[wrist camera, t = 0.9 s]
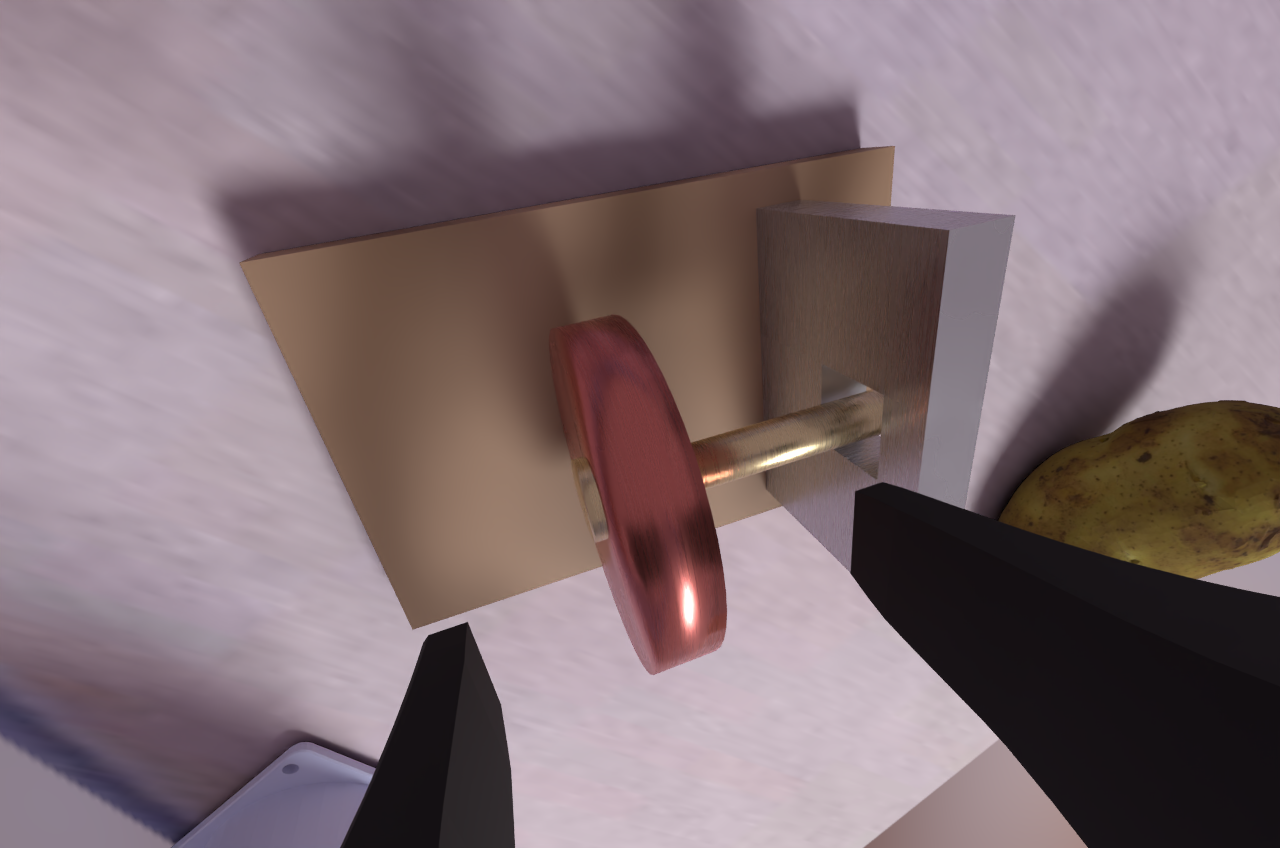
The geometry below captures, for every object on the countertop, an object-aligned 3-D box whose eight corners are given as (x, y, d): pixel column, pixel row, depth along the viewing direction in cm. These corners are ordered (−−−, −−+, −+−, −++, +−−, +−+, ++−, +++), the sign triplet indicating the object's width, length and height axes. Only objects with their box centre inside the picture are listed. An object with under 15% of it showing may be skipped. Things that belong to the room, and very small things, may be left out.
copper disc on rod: (874, 222, 17) (1179, 257, 10) (860, 445, 20) (1075, 586, 13) (521, 297, 14) (592, 415, 7) (578, 535, 18) (663, 763, 11)
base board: (861, 148, 18) (894, 145, 16) (847, 459, 23) (871, 476, 22) (258, 254, 14) (239, 262, 12) (414, 598, 19) (412, 629, 18)
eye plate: (800, 199, 16) (1015, 215, 10) (801, 478, 21) (947, 604, 15) (756, 208, 16) (949, 230, 10) (766, 489, 20) (901, 623, 14)
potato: (946, 489, 26) (1126, 602, 19) (1156, 343, 27) (1405, 402, 20) (971, 587, 30) (1126, 709, 23) (1152, 459, 31) (1356, 542, 24)
